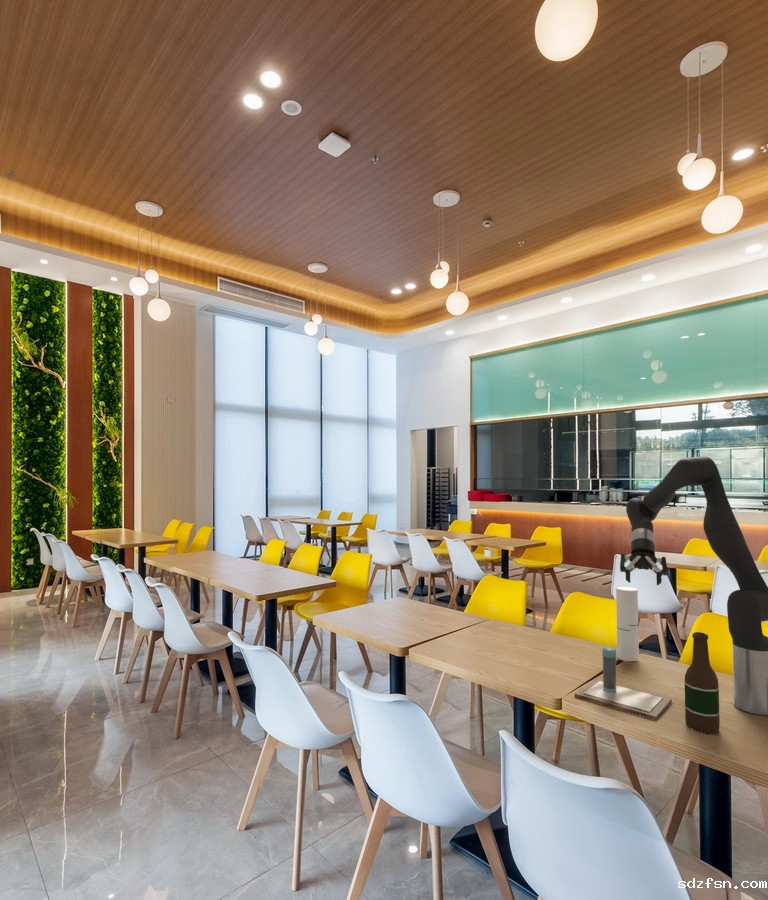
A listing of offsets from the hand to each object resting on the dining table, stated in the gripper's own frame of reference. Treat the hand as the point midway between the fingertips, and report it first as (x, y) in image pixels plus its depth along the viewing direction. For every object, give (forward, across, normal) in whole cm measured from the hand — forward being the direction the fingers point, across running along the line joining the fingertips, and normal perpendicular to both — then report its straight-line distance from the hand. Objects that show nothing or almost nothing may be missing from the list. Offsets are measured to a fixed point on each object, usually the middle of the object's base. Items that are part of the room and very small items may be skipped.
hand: (643, 582), depth 172 cm
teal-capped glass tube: (+35, -10, +6) cm, 37 cm away
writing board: (+38, -6, +6) cm, 39 cm away
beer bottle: (+45, +13, -1) cm, 47 cm away
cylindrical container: (+9, -5, +35) cm, 36 cm away
